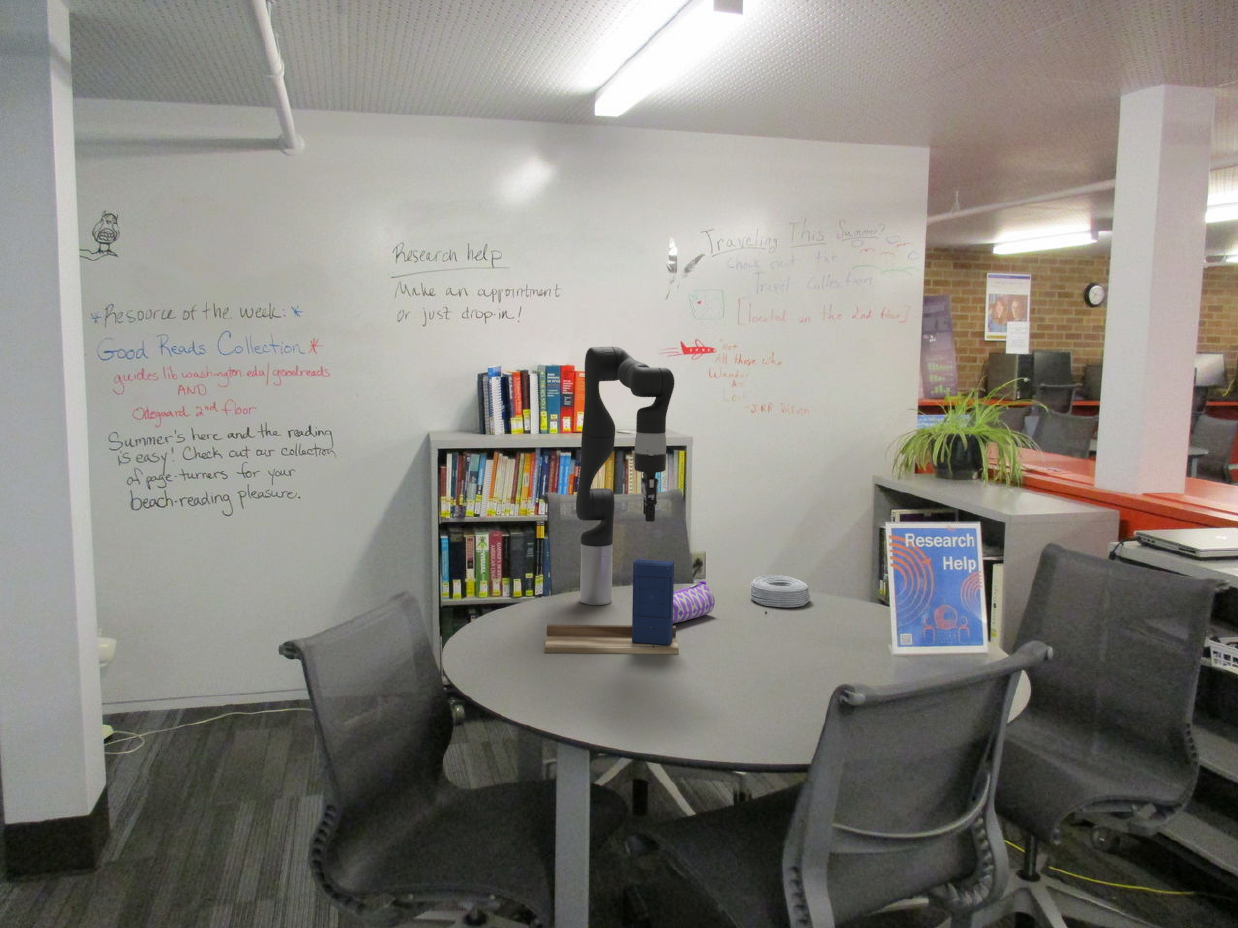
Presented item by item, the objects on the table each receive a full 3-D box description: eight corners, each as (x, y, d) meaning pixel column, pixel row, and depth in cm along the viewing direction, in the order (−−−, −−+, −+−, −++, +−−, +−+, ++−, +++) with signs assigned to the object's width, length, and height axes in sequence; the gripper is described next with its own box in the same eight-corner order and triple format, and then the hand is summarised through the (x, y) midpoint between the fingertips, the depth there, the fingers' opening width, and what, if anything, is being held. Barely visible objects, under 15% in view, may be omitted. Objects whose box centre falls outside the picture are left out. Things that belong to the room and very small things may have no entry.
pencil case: (691, 609, 248) (692, 576, 247) (718, 615, 242) (719, 582, 241) (640, 625, 232) (641, 590, 231) (667, 633, 226) (668, 597, 225)
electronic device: (673, 640, 215) (674, 560, 212) (669, 646, 210) (671, 565, 207) (635, 637, 217) (636, 558, 214) (631, 643, 212) (632, 562, 209)
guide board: (547, 640, 218) (547, 624, 218) (675, 641, 219) (675, 625, 218) (544, 653, 208) (544, 636, 208) (678, 654, 209) (679, 638, 208)
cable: (766, 590, 271) (767, 571, 270) (819, 600, 261) (820, 580, 260) (739, 602, 257) (739, 582, 256) (793, 612, 247) (794, 592, 246)
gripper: (633, 447, 216) (631, 512, 218) (636, 454, 202) (634, 523, 204) (663, 448, 216) (661, 512, 218) (668, 455, 202) (666, 523, 204)
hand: (648, 517), depth 211 cm, fingers open, 8 cm apart
